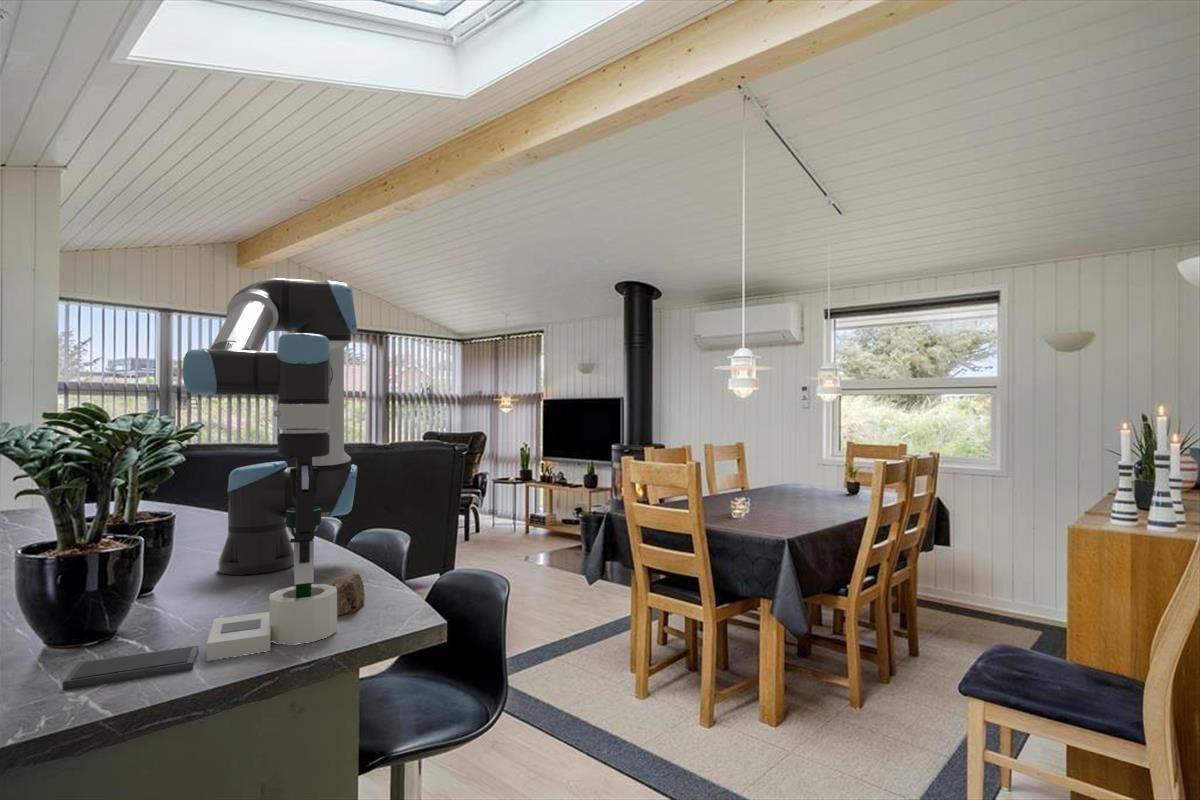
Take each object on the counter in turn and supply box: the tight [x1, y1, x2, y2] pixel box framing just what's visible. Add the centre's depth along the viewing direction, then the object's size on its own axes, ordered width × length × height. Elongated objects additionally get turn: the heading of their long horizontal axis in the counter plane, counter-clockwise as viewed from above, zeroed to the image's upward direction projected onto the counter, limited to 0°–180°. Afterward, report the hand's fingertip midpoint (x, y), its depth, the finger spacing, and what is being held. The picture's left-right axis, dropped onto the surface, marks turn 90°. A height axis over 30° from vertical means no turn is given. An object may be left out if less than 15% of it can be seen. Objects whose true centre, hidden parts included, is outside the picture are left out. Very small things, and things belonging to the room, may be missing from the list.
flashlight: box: [286, 505, 322, 598], centre depth 102 cm, size 5×5×20 cm
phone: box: [62, 644, 200, 691], centre depth 88 cm, size 7×14×1 cm, turn 116°
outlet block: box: [206, 583, 338, 662], centre depth 100 cm, size 12×17×6 cm
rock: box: [328, 572, 366, 617], centre depth 117 cm, size 15×10×6 cm
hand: (303, 579), depth 102 cm, fingers open, 4 cm apart
